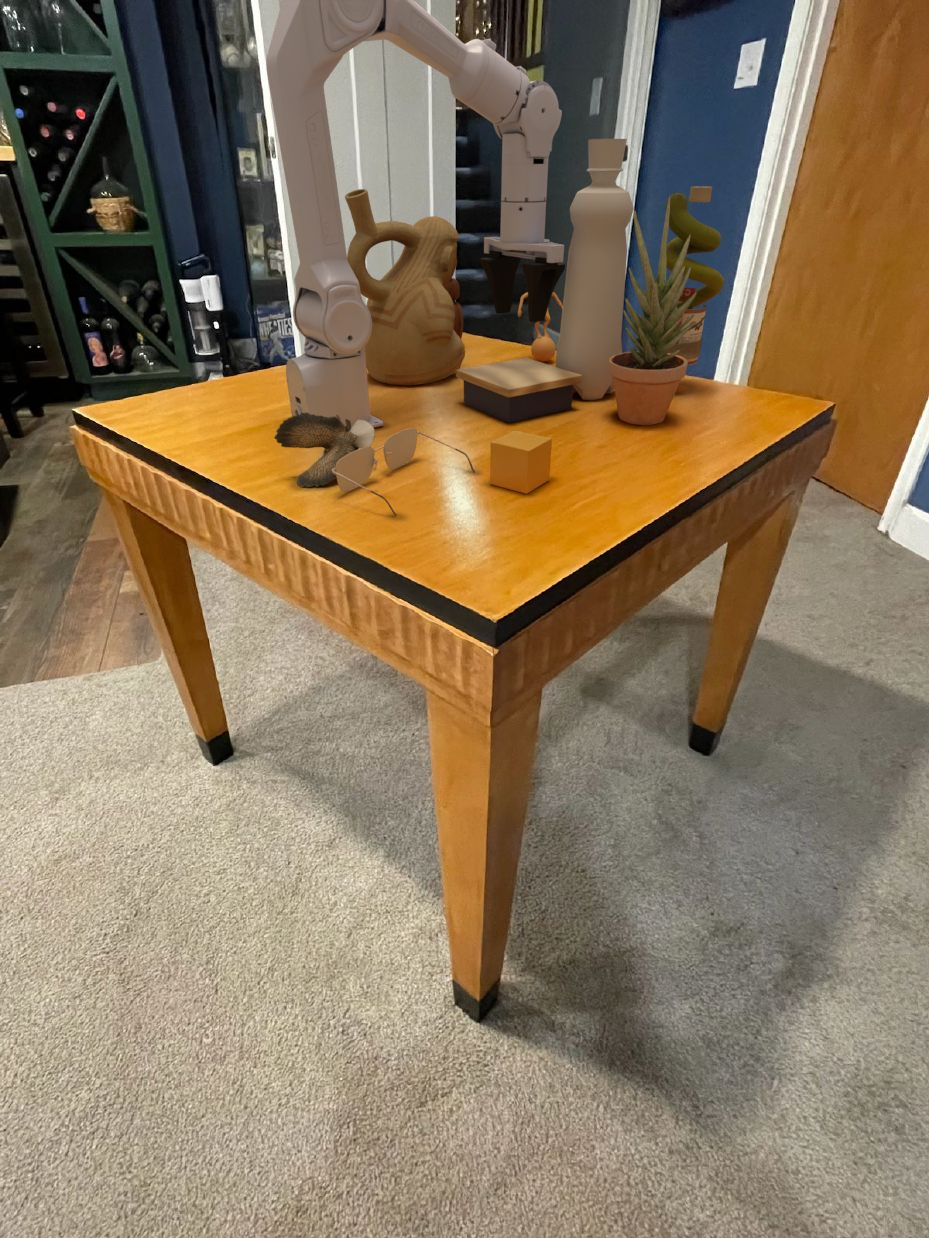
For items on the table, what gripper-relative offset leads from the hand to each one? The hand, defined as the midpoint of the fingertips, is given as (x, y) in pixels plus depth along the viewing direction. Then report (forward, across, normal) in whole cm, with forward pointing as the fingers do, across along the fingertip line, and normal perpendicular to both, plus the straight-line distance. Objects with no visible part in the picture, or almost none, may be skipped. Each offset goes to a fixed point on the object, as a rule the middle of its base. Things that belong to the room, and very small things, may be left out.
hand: (519, 317), depth 94 cm
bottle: (+10, -6, -7) cm, 14 cm away
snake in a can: (+10, -12, -18) cm, 24 cm away
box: (+10, -6, +5) cm, 13 cm away
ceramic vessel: (+10, +16, +8) cm, 21 cm away
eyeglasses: (+10, -21, +31) cm, 39 cm away
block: (+10, -27, +21) cm, 36 cm away
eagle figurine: (+10, -13, +36) cm, 39 cm away
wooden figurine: (+10, +30, -8) cm, 33 cm away
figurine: (+10, +12, -14) cm, 22 cm away
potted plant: (+10, -20, -5) cm, 23 cm away
